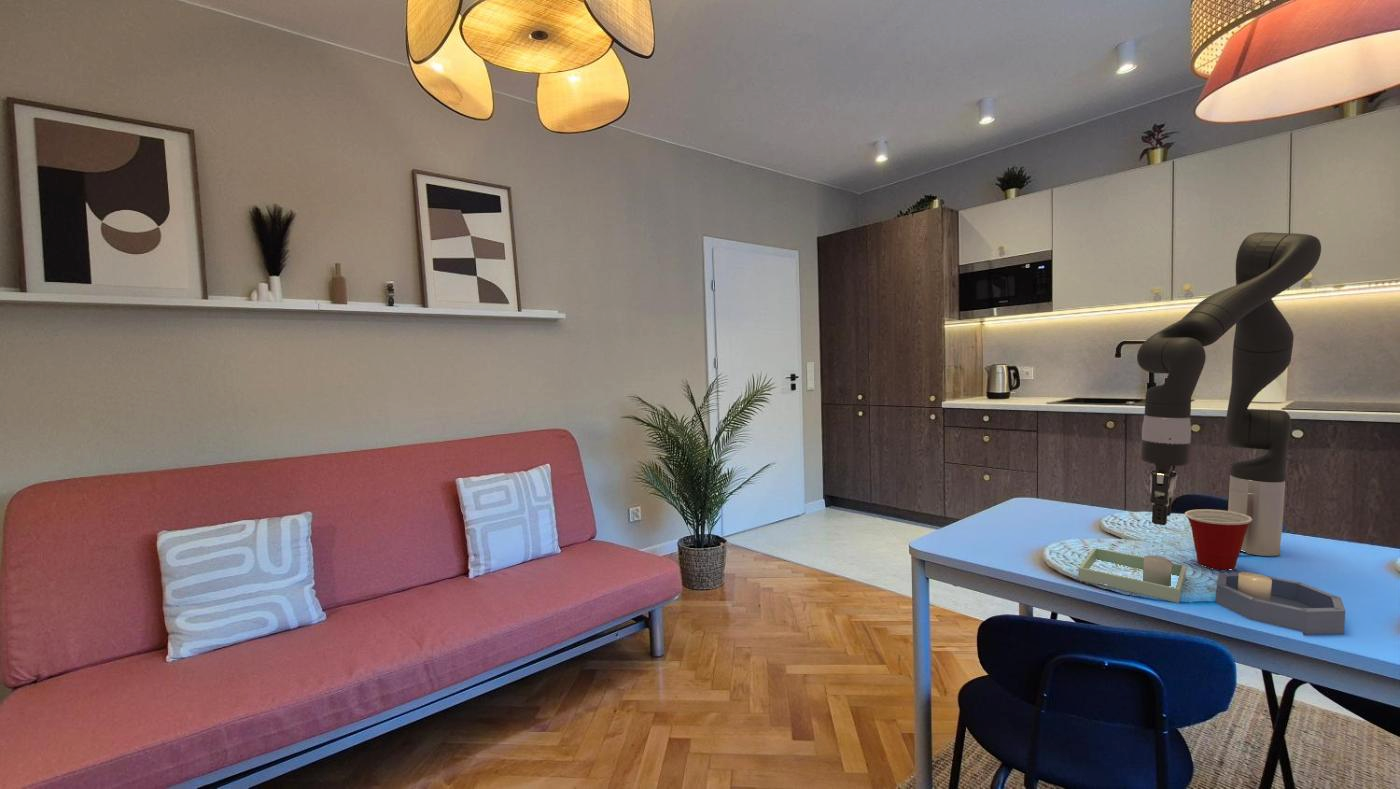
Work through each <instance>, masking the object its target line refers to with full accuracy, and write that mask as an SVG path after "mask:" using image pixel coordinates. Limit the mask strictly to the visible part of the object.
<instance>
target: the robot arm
mask: <svg viewBox="0 0 1400 789" xmlns="http://www.w3.org/2000/svg"><path fill="white" fill-rule="evenodd" d="M1321 244H1322V243H1321V241H1320V239H1319V238H1318V237H1317V236H1314V235H1312V234H1305V233H1292V232H1289V233H1288V232H1274V231H1272V232H1269V231H1267V232H1263V231H1260V232H1259V231H1258V232H1254V233H1251V234H1248V235H1247V236H1246V237H1245V238H1244V239H1243V241H1241V244H1240V245H1239V248H1238V250H1237V254H1236V258H1235V259H1236V260H1235V285H1233V286H1230V287H1228V288H1225V289H1222V290H1220V291H1218V292H1215V293H1214V294H1211V295H1210V296H1208V297H1206V298H1204V299H1202V301H1200V302H1199V303H1197V305H1196V306H1194V307H1193V308H1192V309H1190V311H1189V312H1187V313H1186V314H1185V315H1184V316H1183V317H1182V318H1181V319H1180V320H1178V321H1176V322H1174V323H1172V324H1170V325H1168V326H1167V327H1165V328H1163V329H1161V330H1159V331H1157V332H1156V333H1155V334H1153V335H1151V336H1150V337H1148V338H1147V339H1146V340H1145V341H1144V342H1143V343H1142V344H1141V345H1140V347H1139V349H1138V350H1137V354H1136V361H1137V364H1138V366H1139V367H1140V368H1141V369H1142V370H1144V371H1145V372H1148V373H1152V374H1168V375H1167V377H1166V379H1165V381H1164V383H1163V384H1161V385H1155V386H1150V387H1149V388H1148V389H1147V390H1146V393H1145V399H1144V416H1143V422H1142V426H1141V443H1140V448H1141V449H1140V460H1141V461H1142V462H1145V463H1148V464H1153V465H1155V467H1154V469H1151V471H1150V475H1149V480H1150V488H1149V492H1150V499H1149V501H1150V503H1151V505H1152V512H1151V514H1152V515H1151V523H1152V524H1153V525H1159V526H1166V525H1167V522H1168V517H1170V516H1171V513H1172V499H1173V497H1174V492H1175V491H1176V486H1177V481H1178V472H1176V470H1175V469H1176V467H1184V466H1188V465H1189V464H1190V462H1191V461H1190V458H1191V442H1192V441H1191V440H1192V424H1191V413H1192V411H1191V410H1192V396H1193V393H1194V392H1195V389H1196V387H1197V384H1198V382H1199V379H1200V377H1201V375H1202V372H1203V369H1204V367H1205V364H1206V359H1207V358H1206V357H1207V356H1206V351H1205V347H1208V346H1210V345H1211V346H1212V345H1213V344H1214V343H1216V342H1217V341H1219V339H1221V337H1223V336H1224V335H1225V334H1226V333H1227V332H1228V331H1229V330H1230V329H1231V328H1232V327H1234V326H1235V330H1234V332H1235V333H1234V337H1233V343H1232V346H1233V347H1232V348H1233V349H1232V361H1231V362H1232V364H1231V365H1232V366H1231V385H1230V386H1231V387H1230V393H1229V400H1228V406H1227V412H1226V418H1225V422H1224V439H1225V441H1226V443H1227V444H1228V445H1229V446H1231V447H1235V448H1241V449H1255V450H1267V453H1265V454H1264V455H1262V456H1259V457H1256V458H1254V459H1247V460H1242V461H1241V460H1240V461H1237V462H1236V461H1235V462H1233V463H1232V464H1231V467H1230V472H1229V473H1230V474H1229V489H1228V490H1229V492H1228V505H1227V506H1228V508H1227V511H1231V512H1237V513H1241V514H1245V515H1247V516H1250V517H1251V518H1252V521H1251V522H1250V523H1249V525H1248V528H1247V531H1246V534H1245V537H1244V540H1243V544H1242V547H1241V550H1243V551H1245V552H1246V553H1245V554H1247V555H1248V554H1249V555H1254V556H1255V555H1256V556H1262V557H1278V556H1280V554H1281V547H1282V546H1281V544H1282V533H1283V522H1284V521H1283V520H1284V519H1283V518H1284V506H1285V490H1286V475H1287V460H1288V459H1287V458H1288V451H1289V445H1290V438H1291V431H1292V420H1291V416H1290V414H1289V413H1288V412H1287V411H1285V410H1280V409H1279V410H1278V409H1263V408H1262V409H1257V408H1256V409H1255V408H1249V406H1250V404H1251V403H1252V401H1253V400H1254V398H1256V396H1257V395H1258V394H1259V393H1260V392H1262V390H1263V389H1265V388H1266V387H1267V386H1269V385H1270V384H1271V383H1272V382H1273V381H1274V380H1276V379H1278V377H1280V376H1281V375H1282V374H1283V373H1284V372H1285V371H1286V370H1287V368H1288V367H1289V366H1290V363H1291V360H1292V355H1293V348H1294V332H1293V330H1292V328H1291V326H1290V324H1289V322H1288V320H1287V319H1286V317H1285V316H1284V314H1283V313H1282V312H1281V310H1279V308H1278V307H1277V305H1276V304H1275V301H1274V300H1273V298H1275V297H1276V296H1278V295H1279V294H1282V293H1283V292H1284V291H1285V290H1287V289H1289V288H1291V287H1292V286H1294V285H1296V284H1298V283H1299V282H1300V281H1301V280H1302V279H1304V278H1305V277H1306V276H1307V275H1309V274H1310V273H1311V272H1312V270H1313V269H1315V267H1316V266H1317V263H1318V262H1319V259H1320V257H1321V252H1322V245H1321Z"/></svg>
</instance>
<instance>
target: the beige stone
mask: <svg viewBox="0 0 1400 789" xmlns="http://www.w3.org/2000/svg"><path fill="white" fill-rule="evenodd" d="M1263 575H1264V574H1258V573H1254V572H1247V571H1246V572H1245V571H1244V572H1243V571H1241V572H1239V578H1238V591H1240V592H1242V593H1244V594H1246V595H1249V596H1251V597H1253V598H1255V599H1260V600H1264V601H1269V602H1270V599H1271V587H1272V579H1270V578H1268V577H1266V576H1267V575H1264V576H1263Z"/></svg>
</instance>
